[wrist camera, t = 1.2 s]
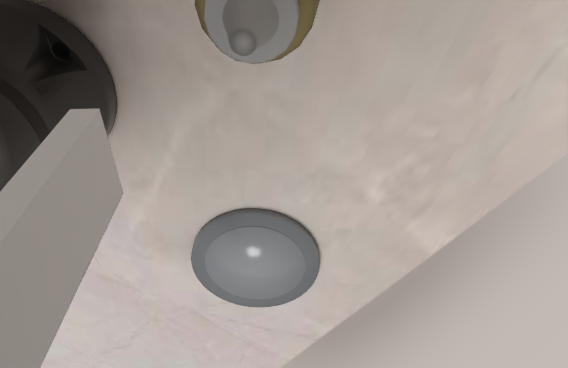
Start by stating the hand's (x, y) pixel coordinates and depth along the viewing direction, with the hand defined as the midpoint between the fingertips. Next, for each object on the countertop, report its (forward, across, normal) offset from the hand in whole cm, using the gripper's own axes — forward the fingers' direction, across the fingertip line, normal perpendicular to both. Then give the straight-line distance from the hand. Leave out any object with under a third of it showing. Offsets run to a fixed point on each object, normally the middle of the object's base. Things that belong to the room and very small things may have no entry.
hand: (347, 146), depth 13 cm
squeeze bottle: (+27, -3, 0) cm, 27 cm away
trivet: (+26, -6, -30) cm, 40 cm away
